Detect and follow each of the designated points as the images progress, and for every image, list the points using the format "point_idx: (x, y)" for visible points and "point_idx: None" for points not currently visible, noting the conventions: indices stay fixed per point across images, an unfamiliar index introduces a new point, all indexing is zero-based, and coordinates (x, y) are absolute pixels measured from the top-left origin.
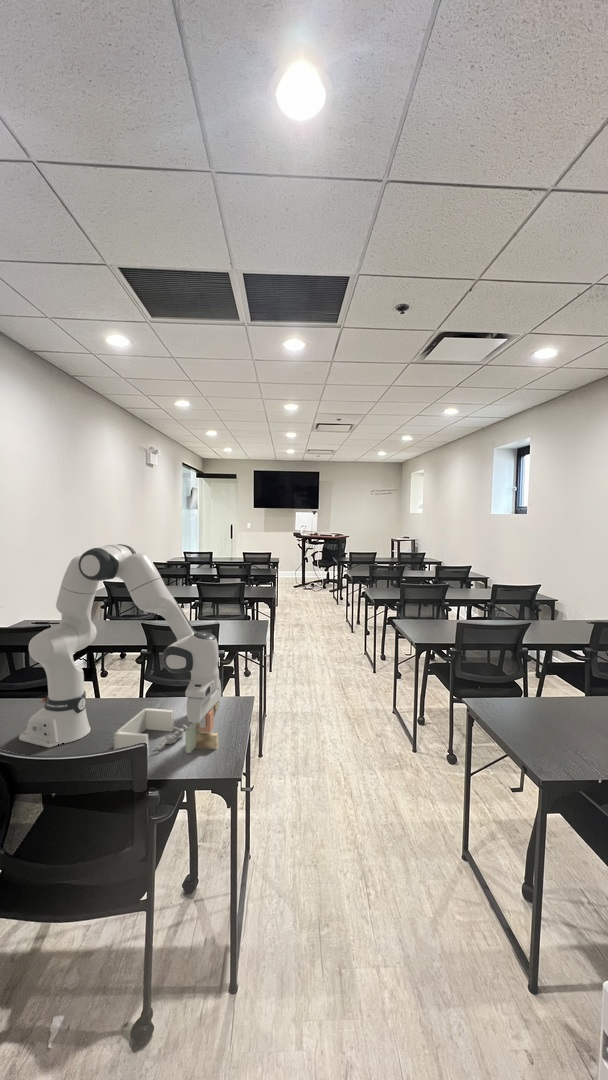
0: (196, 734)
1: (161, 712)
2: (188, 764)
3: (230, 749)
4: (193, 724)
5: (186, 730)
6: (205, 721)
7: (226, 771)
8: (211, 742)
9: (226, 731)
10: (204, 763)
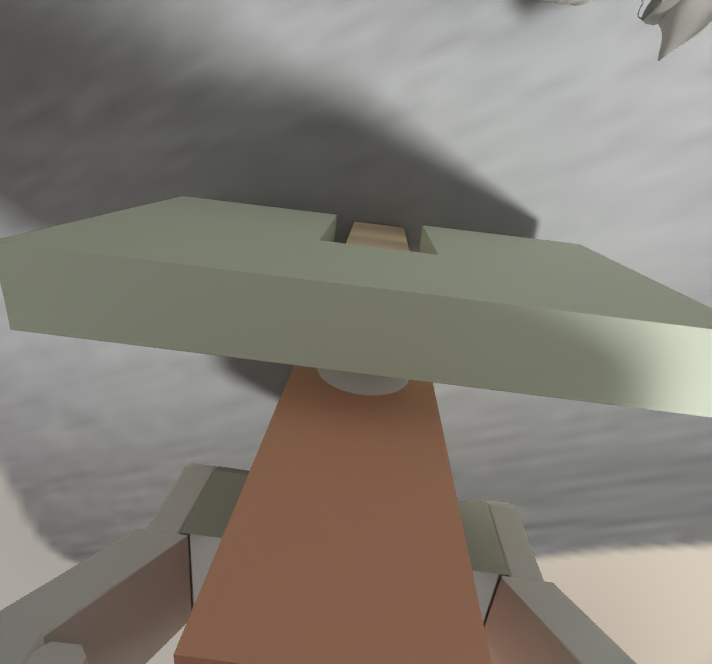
0: None
1: None
2: None
3: None
4: (288, 316)
5: (19, 255)
6: (177, 620)
7: (76, 529)
8: None
9: (649, 443)
10: (121, 384)
